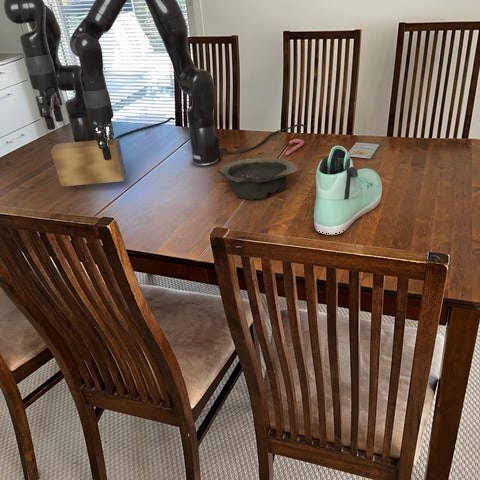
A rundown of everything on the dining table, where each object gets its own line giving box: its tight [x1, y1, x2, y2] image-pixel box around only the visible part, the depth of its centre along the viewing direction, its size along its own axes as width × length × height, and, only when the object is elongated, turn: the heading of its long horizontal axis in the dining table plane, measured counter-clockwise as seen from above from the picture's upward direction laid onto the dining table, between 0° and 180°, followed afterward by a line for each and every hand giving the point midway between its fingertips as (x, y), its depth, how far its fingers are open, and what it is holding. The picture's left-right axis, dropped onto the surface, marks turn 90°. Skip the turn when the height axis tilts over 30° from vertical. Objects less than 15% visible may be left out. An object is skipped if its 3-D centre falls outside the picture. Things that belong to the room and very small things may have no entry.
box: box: [50, 138, 127, 187], centre depth 155 cm, size 20×6×12 cm, turn 93°
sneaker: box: [313, 145, 383, 236], centre depth 133 cm, size 14×35×20 cm, turn 152°
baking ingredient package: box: [347, 141, 380, 159], centre depth 175 cm, size 9×1×15 cm
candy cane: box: [284, 138, 305, 156], centre depth 182 cm, size 6×15×2 cm, turn 145°
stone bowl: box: [217, 157, 299, 201], centre depth 152 cm, size 25×25×9 cm
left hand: (55, 125), depth 149 cm, fingers open, 8 cm apart
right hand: (110, 155), depth 154 cm, fingers closed on box, 6 cm apart
